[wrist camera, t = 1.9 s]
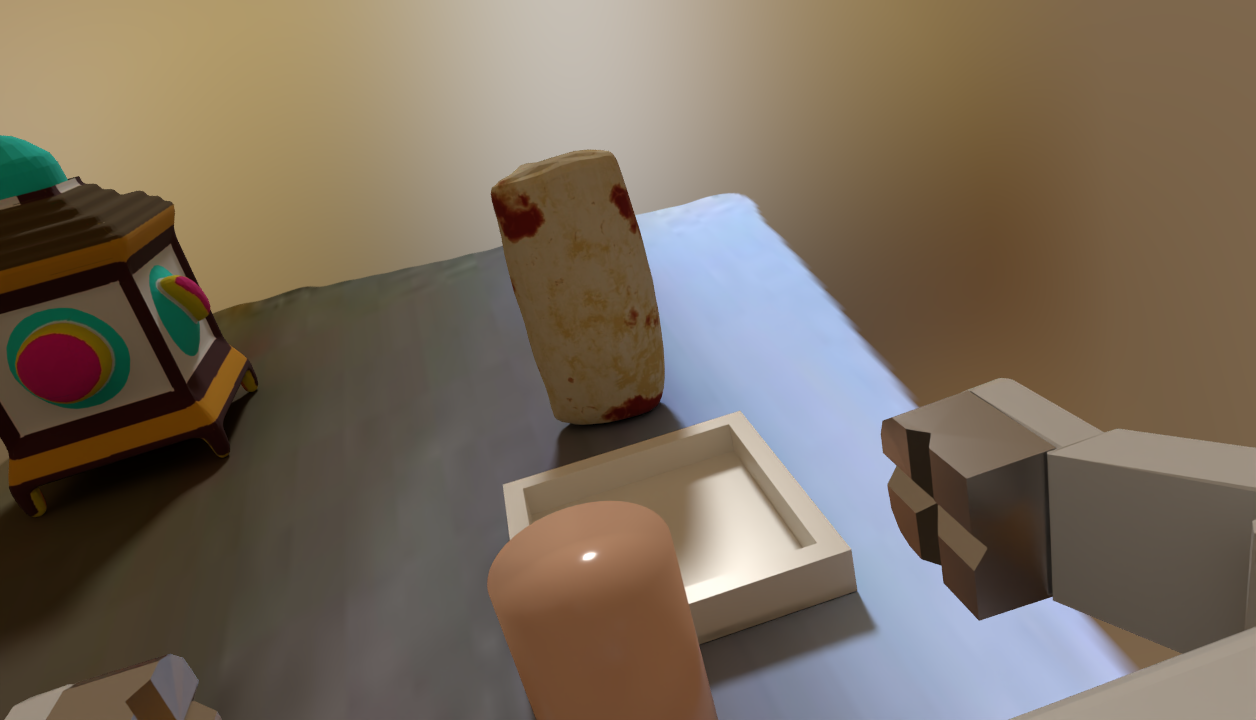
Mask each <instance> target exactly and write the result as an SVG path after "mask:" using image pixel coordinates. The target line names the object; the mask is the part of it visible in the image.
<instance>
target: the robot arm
mask: <svg viewBox="0 0 1256 720" xmlns="http://www.w3.org/2000/svg"><path fill="white" fill-rule="evenodd" d="M881 439H882V448H883V453H884V454H885V455H886V456H887V457H888V458H889V459H890V460H891V461H892V462H893V463H895V464H896V465H897V466H896V468H895V471H894V473H893V475H892V477H891V479H890V481H889V483H888V491H889V497H890V503H891V509H892V511H893V514H894V516H895V519H896V521H897V524H898V527H899V529H900V531H901V533H902V535H903V536H904V538H905V539H906V541H907V542H908V544H909V546H910V547H911V548H912V549H913V550H914V551H915V552H916V553H917V555H918V556H919V557H920V558H921V559H923V560H926V561H929V562H932V563H935V564H939V565H942V574H943V582H944V584H945V585H946V586H947V587H948V588H949V589H950V590H951V591H952V592H953V593H954V595H955V596H956V597H957V598H958V599H959V600H960V601H961V602H962V603H963V604H964V605H965V606H966V607H967V608H968V609H969V610H970V611H971V613H972V614H973V615H974V616H975V617H976V618H977V619H978V620H979V621H980V620H983V619H986V618H989V617H992V616H995V615H998V614H1001V613H1004V612H1007V611H1010V610H1013V609H1016V608H1019V607H1022V606H1025V605H1028V604H1032V603H1035V602H1038V601H1041V600H1044V599H1047V598H1050V597H1053V601H1056V602H1058V603H1061V604H1063V605H1066V606H1068V607H1070V608H1073V609H1075V610H1078V611H1080V612H1083V613H1085V614H1087V615H1090V616H1092V617H1095V618H1097V619H1100V620H1102V621H1104V622H1107V623H1109V624H1112V625H1114V626H1117V627H1119V628H1122V629H1124V630H1126V631H1129V632H1131V633H1134V634H1136V635H1138V636H1141V637H1144V638H1146V639H1148V640H1151V641H1153V642H1155V643H1158V644H1160V645H1163V646H1165V647H1168V648H1170V649H1172V650H1175V651H1177V652H1180V653H1182V654H1181V655H1179V656H1176V657H1173V658H1171V659H1168V660H1165V661H1163V662H1160V663H1157V664H1155V665H1152V666H1149V667H1147V668H1144V669H1142V670H1139V671H1136V672H1134V673H1131V674H1128V675H1126V676H1123V677H1121V678H1118V679H1115V680H1113V681H1110V682H1107V683H1105V684H1102V685H1099V686H1097V687H1094V688H1092V689H1089V690H1086V691H1084V692H1081V693H1078V694H1076V695H1073V696H1070V697H1068V698H1065V699H1063V700H1060V701H1057V702H1055V703H1052V704H1049V705H1047V706H1044V707H1041V708H1038V709H1036V710H1033V711H1030V712H1028V713H1025V714H1022V715H1020V716H1017V717H1014V718H1012V719H1009V720H1256V448H1251V447H1245V446H1238V445H1230V444H1223V443H1216V442H1209V441H1202V440H1195V439H1188V438H1181V437H1174V436H1167V435H1159V434H1152V433H1145V432H1138V431H1131V430H1123V429H1115V430H1112V431H1108V432H1106V433H1104V432H1102V431H1100V430H1099V429H1097V428H1095V427H1093V426H1092V425H1090V424H1088V423H1086V422H1085V421H1083V420H1081V419H1080V418H1078V417H1076V416H1074V415H1073V414H1071V413H1069V412H1067V411H1066V410H1064V409H1062V408H1061V407H1059V406H1057V405H1055V404H1053V403H1052V402H1050V401H1048V400H1047V399H1045V398H1043V397H1042V396H1040V395H1038V394H1036V393H1035V392H1033V391H1031V390H1030V389H1028V388H1026V387H1024V386H1022V385H1021V384H1019V383H1017V382H1016V381H1014V380H1012V379H1005V378H999V379H996V380H993V381H990V382H988V383H986V384H983V385H980V386H977V387H974V388H972V389H969V390H967V391H964V392H961V393H959V394H957V395H954V396H951V397H948V398H945V399H942V400H940V401H937V402H934V403H931V404H928V405H926V406H923V407H920V408H917V409H914V410H912V411H909V412H906V413H903V414H900V415H898V416H895V417H892V418H889V419H886V420H884V421H883V422H882V429H881ZM198 682H199V681H198V679H197V678H196V676H195V675H194V673H193V672H192V670H191V669H190V667H189V666H188V664H187V663H186V661H185V660H184V658H181V657H178V656H175V655H172V654H168V655H165V656H161V657H158V658H155V659H152V660H148V661H145V662H142V663H139V664H135V665H132V666H129V667H126V668H122V669H119V670H116V671H113V672H109V673H106V674H103V675H100V676H96V677H93V678H90V679H87V680H83V681H80V682H77V683H76V684H72V685H66V686H63V687H60V688H57V689H55V690H52V691H49V692H46V693H43V694H40V695H37V696H34V697H31V698H29V699H27V700H25V701H23V702H21V703H19V704H17V705H16V706H14V707H13V708H12V710H11V711H10V713H9V714H8V716H7V717H6V719H5V720H222V719H221V717H220V716H219V714H218V712H217V711H215V710H213V709H211V708H208V707H206V706H204V705H202V704H199V703H197V702H195V701H193V700H194V697H195V693H196V689H197V685H198Z"/></svg>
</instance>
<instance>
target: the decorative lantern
mask: <svg viewBox="0 0 1256 720" xmlns="http://www.w3.org/2000/svg"><path fill="white" fill-rule="evenodd" d="M174 216H175V210H174V204H173V203H172V202H170V201H164V200H163V199H162V198H161V197H159V196H149V195H147V194H146V193H145V192H143V191H135V192H131V193H128V194H124V195H120V194H119V193H117V192H116V191H115V190H112V189H102V188H100V187H99V186H98V185H97V184H85V183H83V182H82V181H81V179H80V177H79V176H78V177H74V178H70V179H67V178H66V176H65V174H64V172H63V171H62V169H61V167H60V165H59V164H58V162H57V161H56V160H55V158H54V157H53V156H52V155H51V154H50V153H49V152H47V151H45V150H43V149H41V148H39V147H37V146H35V145H33V144H31V143H29V142H27V141H25V140H22V139H18V138H16V137H12V136H1V135H0V438H1V439H2V441H3V442H4V444H5V446H6V448H7V450H8V453H9V489H10V492H11V494H12V496H13V497H14V499H15V500H16V502H17V503H18V505H19V506H20V508H21V509H22V510H23V511H24V512H25V513H26V514H28V515H29V516H32V517H38V516H41V515H43V514H44V513H45V512H46V509H47V506H46V501H45V499H44V496H43V494H42V493H41V491H40V489H39V486H42V485H44V484H47V483H51V482H54V481H57V480H60V479H63V478H66V477H70V476H73V475H76V474H79V473H82V472H86V471H89V470H92V469H95V468H98V467H101V466H105V465H108V464H111V463H114V462H117V461H121V460H124V459H127V458H130V457H133V456H137V455H140V454H143V453H146V452H149V451H152V450H156V449H159V448H162V447H165V446H168V445H172V444H175V443H178V442H181V441H184V440H188V439H191V438H201V439H204V440H205V441H206V442H207V443H208V444H209V446H210V447H211V448H212V450H213V451H214V452H215V454H216V455H217V456H219V457H222V458H224V457H226V456H227V455H228V454H229V452H230V444H229V441H228V439H227V436H226V433H225V431H224V428H223V421H224V417H225V415H226V413H227V411H228V409H229V407H230V405H231V403H232V401H233V398H234V396H235V394H236V392H237V390H238V388H239V386H240V384H241V385H242V386H243V388H244V389H245V390H246V391H248V392H253V391H255V390H256V389H257V387H258V381H257V377H256V374H255V372H254V370H253V367H252V365H251V363H250V362H249V360H248V359H247V358H246V357H245V356H243V355H242V354H241V353H240V352H238V351H237V350H236V349H234V348H233V347H232V346H230V345H229V344H228V343H227V342H226V340H225V339H224V337H223V336H222V334H221V331H220V329H219V327H218V325H217V323H216V321H215V319H214V316H213V314H212V312H211V310H210V304H209V301H208V298H207V297H206V295H205V294H204V292H203V291H202V289H201V288H200V287H199V285H198V282H197V280H196V278H195V276H194V274H193V272H192V270H191V268H190V266H189V263H188V261H187V259H186V257H185V255H184V253H183V251H182V248H181V246H180V244H179V242H178V240H177V237H176V234H175V231H174Z"/></svg>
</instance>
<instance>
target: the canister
mask: <svg viewBox="0 0 1256 720" xmlns="http://www.w3.org/2000/svg"><path fill="white" fill-rule="evenodd" d="M487 587H488V593H489V596H490V599H491V601H492V604H493V607H494V609H495V612H496V615H497V617H498V620H499V622H500V625H501V628H502V630H503V633H504V636H505V638H506V641H507V644H508V646H509V649H510V652H511V654H512V657H513V659H514V662H515V665H516V667H517V670H518V673H519V675H520V678H521V681H522V683H523V686H524V689H525V691H526V694H527V697H528V699H529V702H530V704H531V707H532V710H533V712H534V715H535V718H536V720H718V717H717V713H716V709H715V705H714V701H713V697H712V694H711V690H710V686H709V682H708V678H707V674H706V670H705V666H704V662H703V658H702V654H701V650H700V646H699V643H698V639H697V635H696V631H695V627H694V623H693V619H692V615H691V611H690V607H689V603H688V599H687V595H686V591H685V588H684V584H683V580H682V576H681V572H680V568H679V564H678V560H677V556H676V552H675V548H674V544H673V540H672V537H671V533H670V530H669V527H668V526H667V524H666V522H665V521H664V520H663V519H662V518H661V517H660V516H659V515H658V514H657V513H655V512H654V511H652V510H650V509H648V508H647V507H644V506H641V505H638V504H634V503H630V502H623V501H597V502H589V503H584V504H579V505H575V506H571V507H568V508H565V509H562V510H559V511H556V512H554V513H552V514H549V515H547V516H545V517H543V518H541V519H539V520H537V521H535V522H534V523H532V524H531V525H529V526H527V527H526V528H524V529H523V530H522V531H520V532H519V533H518V534H517V535H515V536H514V537H513V538H512V539H511V540H510V541H509V542H508V543H507V544H506V545H505V546H504V547H503V548H502V550H501V551H500V552H499V554H498V555H497V556H496V558H495V560H494V562H493V563H492V566H491V568H490V571H489V575H488V584H487Z"/></svg>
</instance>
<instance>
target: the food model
mask: <svg viewBox="0 0 1256 720" xmlns="http://www.w3.org/2000/svg"><path fill="white" fill-rule="evenodd" d="M491 198H492V203H493V206H494V210H495V214H496V217H497V221H498V225H499V229H500V233H501V237H502V243H503V249H504V254H505V259H506V263H507V267H508V271H509V275H510V279H511V282H512V286H513V290H514V294H515V296H516V299H517V302H518V305H519V308H520V310H521V313H522V317H523V320H524V323H525V326H526V330H527V334H528V338H529V342H530V345H531V348H532V352H533V355H534V358H535V361H536V364H537V366H538V369H539V371H540V374H541V377H542V379H543V382H544V384H545V387H546V389H547V393H548V396H549V400H550V404H551V408H552V411H553V414H554V416H555V418H556V419H557V420H560V421H562V422H566V423H572V424H577V425H587V424H597V423H606V422H612V421H616V420H621V419H625V418H629V417H633V416H637V415H640V414H643V413H646V412H649V411H651V410H652V409H653V408H655V407H656V406H657V405H658V404H659V402H660V399H661V397H662V393H663V389H664V379H665V365H664V348H663V340H662V333H661V326H660V319H659V312H658V307H657V302H656V296H655V291H654V285H653V280H652V275H651V272H650V268H649V264H648V260H647V256H646V252H645V248H644V244H643V240H642V237H641V233H640V230H639V226H638V223H637V220H636V217H635V214H634V211H633V208H632V204H631V202H630V198H629V195H628V192H627V189H626V186H625V183H624V179H623V176H622V173H621V170H620V167H619V165H618V162H617V160H616V158H615V157H614V155H613V154H612V153H611V152H609V151H603V150H580V151H573V152H569V153H566V154H563V155H559V156H556V157H553V158H549V159H546V160H543V161H540V162H537V163H527V164H524V165H521V166H519V167H518V169H516V170H515V171H514V172H513V173H512V174H511V175H509V176H507V177H506V178H504V179H502V180H500V181H499V182H498V183H497V184H496V185H495V186H494V187H492V190H491Z"/></svg>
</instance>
